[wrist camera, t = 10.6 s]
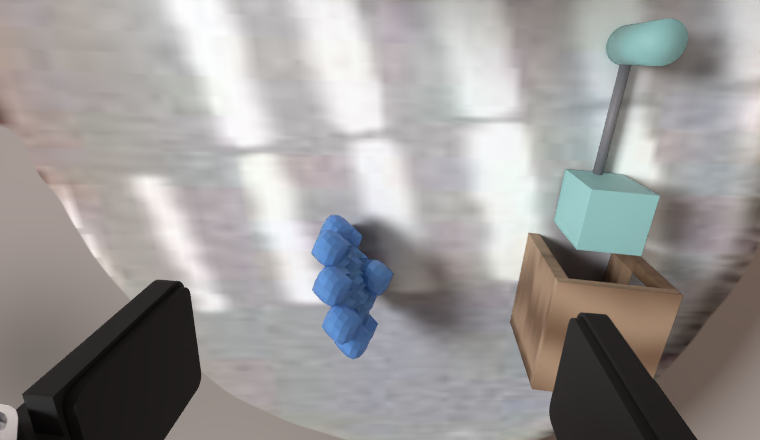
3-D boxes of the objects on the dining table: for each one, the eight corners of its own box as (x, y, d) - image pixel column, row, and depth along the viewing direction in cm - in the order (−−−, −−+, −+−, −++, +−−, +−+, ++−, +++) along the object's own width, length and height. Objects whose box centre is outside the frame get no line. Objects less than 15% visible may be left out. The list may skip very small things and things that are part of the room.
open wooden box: (528, 232, 42) (558, 282, 33) (625, 242, 41) (683, 295, 32) (510, 322, 45) (532, 389, 36) (599, 332, 45) (644, 402, 36)
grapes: (412, 296, 45) (408, 375, 34) (350, 309, 47) (327, 388, 35) (381, 192, 42) (366, 241, 31) (315, 208, 43) (277, 261, 32)
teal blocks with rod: (598, 22, 35) (635, 15, 29) (663, 27, 35) (714, 20, 29) (553, 221, 41) (576, 249, 35) (608, 226, 41) (641, 256, 35)
